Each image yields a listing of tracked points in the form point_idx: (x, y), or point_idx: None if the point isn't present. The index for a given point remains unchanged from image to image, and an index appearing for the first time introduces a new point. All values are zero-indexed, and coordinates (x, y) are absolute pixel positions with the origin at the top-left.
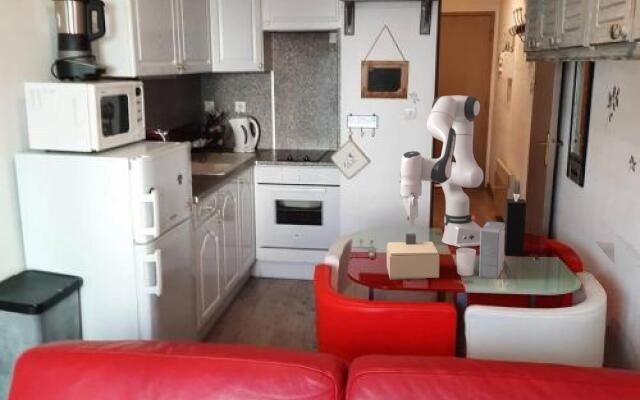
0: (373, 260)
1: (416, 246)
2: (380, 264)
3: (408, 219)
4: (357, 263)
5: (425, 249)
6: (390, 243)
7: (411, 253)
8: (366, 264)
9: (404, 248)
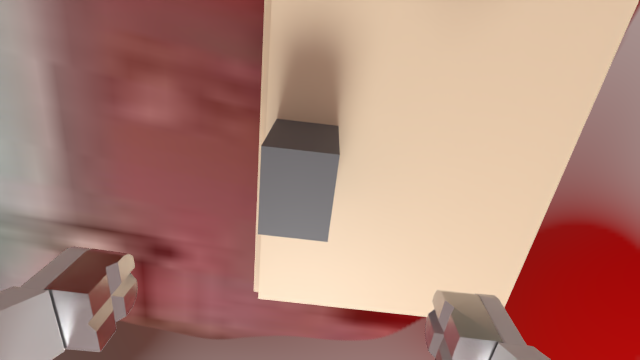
0: (186, 250)
1: (398, 133)
2: (244, 233)
3: (129, 295)
4: (225, 310)
5: (507, 77)
6: (284, 289)
7: (545, 206)
8: (240, 283)
9: (423, 230)
